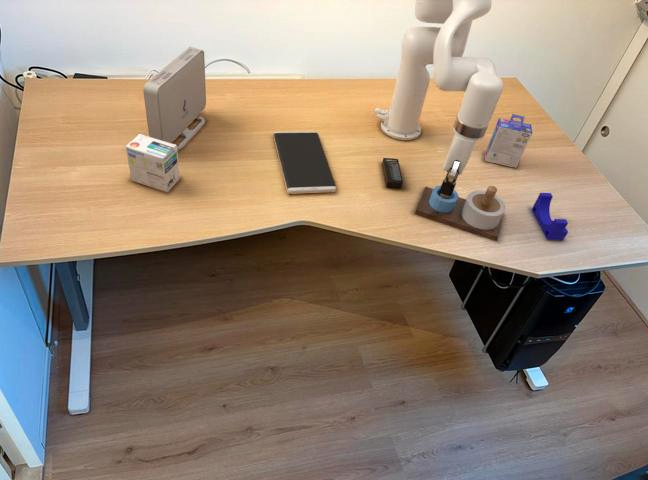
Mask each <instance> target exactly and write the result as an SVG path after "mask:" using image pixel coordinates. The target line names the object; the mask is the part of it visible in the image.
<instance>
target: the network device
mask: <svg viewBox="0 0 648 480" xmlns="http://www.w3.org/2000/svg"><path fill="white" fill-rule="evenodd" d="M205 63H206V61H205V51H204V50H203V49H199V48H196V47H193V46H189V47H188V48H186V49H185V50H184V51H182V52H181V53H180V54H179V55H178V56H176V57H175V58H174V59H172V61H170V62H169V63H168V64H167V65H166V66H164V67H163V68H162V69H161V70H160V71H158V72H157V73H156V74H155V75H154V76H152V78H150V79H149V80H147V82H146V83H145V84H144V85H143V89H142V92H143V99H144V106H145V116H146V123H147V131H148V136H149V137H152V138H155V139H158V140H161V141H165V142H169V143H172V144H173V142H174V141H176V139H177V138H178V137H179V136H181V137H185V138H184V139H183V140H182V141H181V142H180V143H179V144H178V145H177V151H179V150H182V149H183V148H184V147H185V146H186V145H187V144H188V142H189V141H191V139H192V138H193V137H194V136H195V135H196V134H197V133H198V132H199V131H200V130H201V128H203V126H204V125H205V124H206V120H205V118H204V117H203V116H202V115H200V114H201V113H202V112H203V111H204V110H205V109H206V106H207V94H206V93H207V90H206V64H205ZM194 120H197V121H200V122H199V123H198V124H197V125H196V126H195V128H193V129H189V126H190V125H191V124H192V123H193V122H194Z"/></svg>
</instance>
